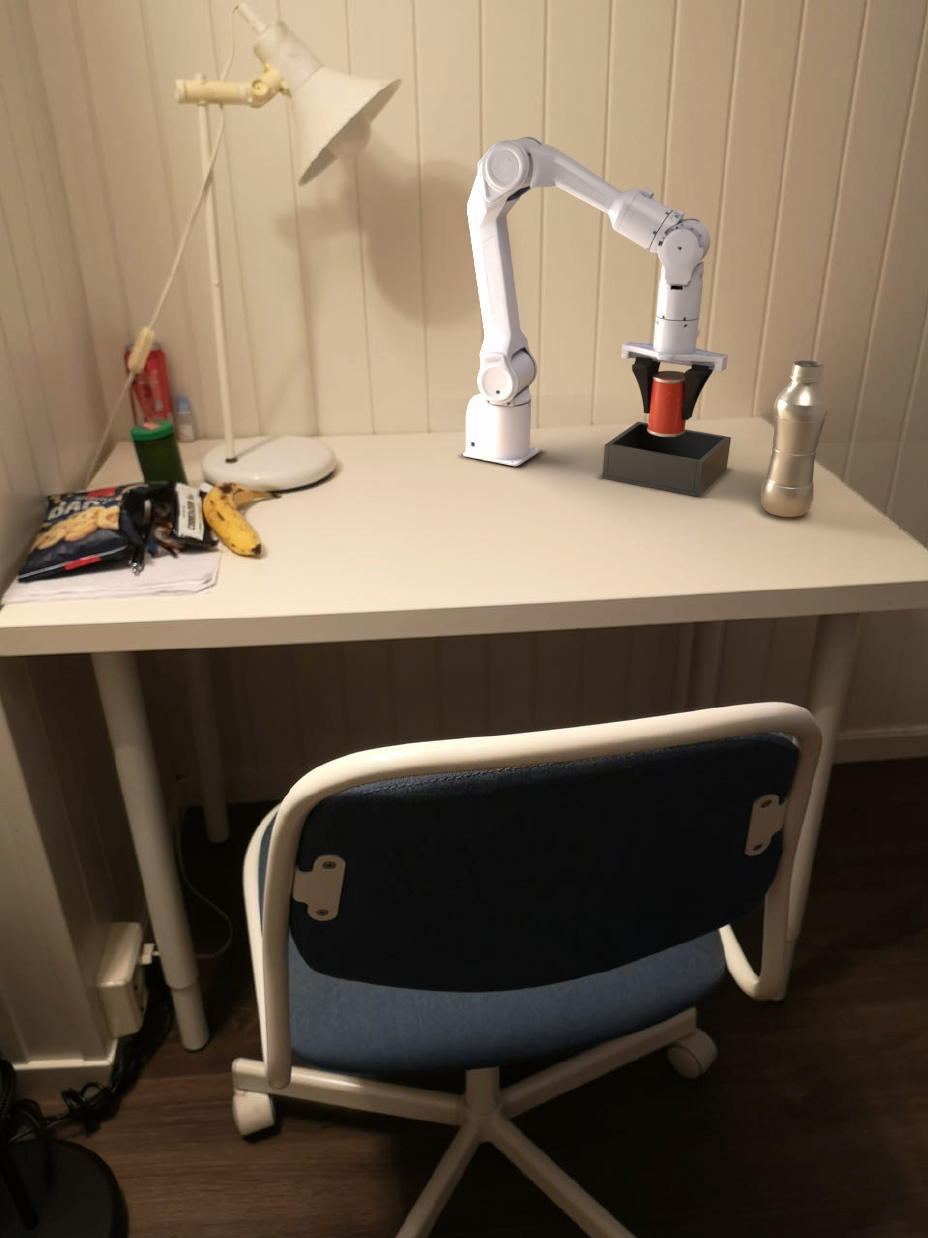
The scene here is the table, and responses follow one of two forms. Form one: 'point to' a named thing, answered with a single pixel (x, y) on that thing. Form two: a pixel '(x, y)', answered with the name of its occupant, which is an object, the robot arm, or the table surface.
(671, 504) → the table surface
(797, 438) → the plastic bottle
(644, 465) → the drawer
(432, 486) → the table surface
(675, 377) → the tin can
